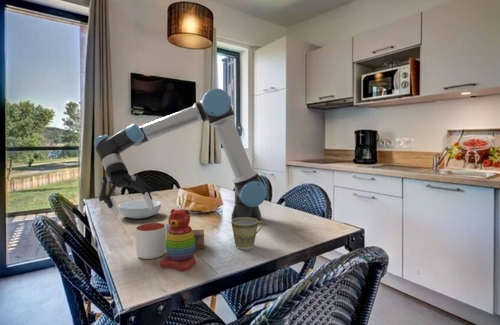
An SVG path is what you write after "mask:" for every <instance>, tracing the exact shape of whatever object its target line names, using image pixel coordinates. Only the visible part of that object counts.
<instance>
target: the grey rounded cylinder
mask: <svg viewBox="0 0 500 325" xmlns="http://www.w3.org/2000/svg"><path fill="white" fill-rule="evenodd" d="M165 225H166V239H167V233H168V230H169V229H170V228H171V226H170V224H169V222H168V223H166V224H165Z"/></svg>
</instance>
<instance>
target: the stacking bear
mask: <svg viewBox="0 0 500 325" xmlns="http://www.w3.org/2000/svg"><path fill="white" fill-rule="evenodd" d="M167 220H168V223H169V224H170V226H171V228H170V229H169V230H168V233H167V239H166V253H167V256H166V257H164V258H162V259H161V260H160V262H159V267H160V268H164V269H168V268H169V269H171V268H172V269H176V270H177V271H179V272H186V271H190V269H192V268H193V267H194V266H195V264H196V258H195V256H194V254H195V251H194V249H195V237H194V233H193V230H194V229H192V227H191V226H190V221H191V215H190V211H189V210H188V209H183V208H181V209H179V208H178V209H176V208H175V209H174V208H172V209H171V210H170V214H169V217H168V219H167Z"/></svg>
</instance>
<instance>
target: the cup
mask: <svg viewBox="0 0 500 325" xmlns="http://www.w3.org/2000/svg"><path fill="white" fill-rule="evenodd" d="M135 251H136V256H137V257H138V258H140V259H144V260H152V259H158V258H160V257H162V256H163V255H164V254H165V253H167V250H166V224H165V223H161V222H148V223H144V224H143V223H142V224H139V225H137V226H136V227H135Z"/></svg>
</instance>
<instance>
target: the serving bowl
mask: <svg viewBox="0 0 500 325" xmlns="http://www.w3.org/2000/svg"><path fill="white" fill-rule="evenodd" d="M152 202H153V204H154V206H153V208H152V209H151V210H150V209H149V207H148V205H147V203H146V201H145V199H138V200H129V201H125V202H121V203H119V204H118V206H117V208H118V210H119V213H120V214H121V215H122V216H124V217H126V218H130V219H134V220H136V219H137V220H138V219H139V220H140V219H146V218H149V217H152V216H154V215H156V214H158V213H159V211H160V209H161V208H162V203H161V201H158V200H154V199H152Z"/></svg>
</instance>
